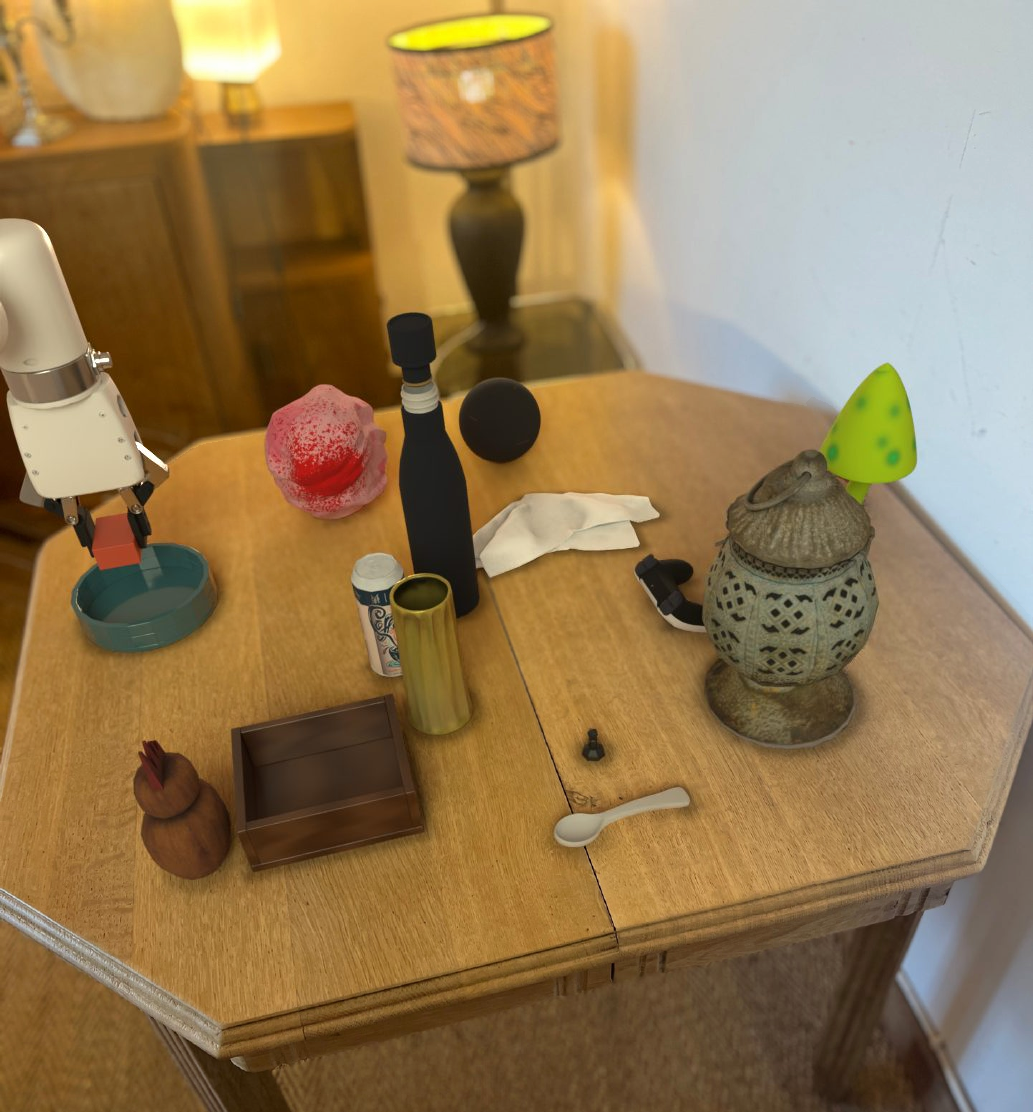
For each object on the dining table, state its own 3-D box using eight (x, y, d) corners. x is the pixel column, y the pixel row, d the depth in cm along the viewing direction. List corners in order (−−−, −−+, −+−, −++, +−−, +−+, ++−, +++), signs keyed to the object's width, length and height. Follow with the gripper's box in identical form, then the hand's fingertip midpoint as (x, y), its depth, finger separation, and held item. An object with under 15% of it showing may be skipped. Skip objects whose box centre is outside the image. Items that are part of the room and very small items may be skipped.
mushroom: (829, 632, 95) (879, 395, 78) (778, 585, 101) (815, 354, 84) (899, 606, 97) (963, 370, 80) (846, 561, 103) (895, 332, 86)
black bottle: (406, 607, 102) (355, 328, 82) (444, 574, 106) (404, 300, 85) (455, 627, 100) (414, 344, 79) (491, 593, 103) (462, 313, 82)
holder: (253, 872, 79) (235, 832, 76) (246, 769, 87) (230, 728, 84) (423, 832, 81) (415, 791, 77) (401, 734, 89) (392, 693, 86)
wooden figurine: (219, 896, 78) (158, 772, 67) (152, 888, 79) (82, 765, 68) (250, 829, 82) (198, 703, 72) (186, 822, 83) (126, 697, 73)
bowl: (78, 665, 99) (65, 639, 97) (88, 582, 109) (76, 557, 107) (219, 636, 101) (210, 610, 99) (216, 557, 111) (207, 532, 109)
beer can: (393, 687, 94) (372, 588, 85) (361, 666, 96) (337, 568, 88) (429, 660, 96) (412, 562, 88) (397, 641, 99) (377, 543, 90)
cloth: (638, 478, 117) (638, 462, 116) (676, 543, 107) (677, 526, 106) (424, 516, 114) (421, 500, 113) (443, 586, 105) (440, 569, 103)
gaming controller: (663, 593, 105) (619, 567, 100) (692, 562, 103) (648, 535, 99) (707, 656, 97) (661, 631, 93) (738, 624, 95) (694, 596, 91)
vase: (468, 684, 93) (452, 564, 83) (477, 730, 89) (461, 609, 79) (405, 695, 93) (381, 575, 83) (411, 741, 89) (386, 621, 79)
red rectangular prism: (141, 563, 97) (133, 543, 96) (100, 570, 97) (91, 550, 95) (143, 530, 102) (135, 510, 100) (103, 537, 101) (95, 517, 100)
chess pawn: (576, 753, 86) (575, 730, 84) (592, 740, 87) (591, 717, 85) (593, 764, 85) (593, 741, 83) (609, 751, 86) (609, 728, 84)
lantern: (769, 775, 83) (812, 530, 66) (665, 681, 92) (678, 444, 75) (888, 706, 88) (957, 462, 70) (777, 623, 97) (814, 388, 79)
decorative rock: (409, 508, 106) (390, 365, 103) (275, 523, 103) (252, 376, 100) (390, 514, 124) (374, 392, 121) (276, 527, 121) (257, 402, 118)
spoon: (547, 831, 80) (547, 815, 79) (676, 791, 83) (679, 776, 82) (561, 858, 78) (562, 843, 77) (693, 817, 81) (696, 801, 80)
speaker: (456, 477, 120) (447, 402, 113) (470, 435, 127) (462, 362, 120) (537, 479, 118) (533, 403, 112) (546, 436, 126) (543, 362, 119)
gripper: (150, 342, 90) (203, 511, 103) (-41, 370, 88) (38, 540, 100) (147, 377, 85) (204, 551, 97) (-56, 408, 83) (30, 582, 95)
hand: (119, 544), depth 99 cm, fingers closed on red rectangular prism, 4 cm apart
